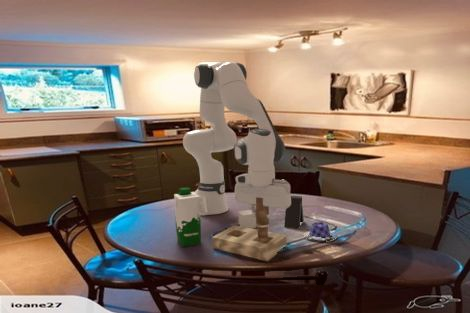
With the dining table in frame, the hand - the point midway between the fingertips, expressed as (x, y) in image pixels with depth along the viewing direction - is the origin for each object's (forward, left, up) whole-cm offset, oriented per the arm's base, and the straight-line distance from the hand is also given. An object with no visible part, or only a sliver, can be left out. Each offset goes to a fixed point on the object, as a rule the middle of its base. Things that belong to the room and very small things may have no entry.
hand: (262, 217), depth 121 cm
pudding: (+12, +21, -12) cm, 27 cm away
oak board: (-6, 0, -12) cm, 13 cm away
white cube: (-18, +18, -12) cm, 28 cm away
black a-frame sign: (-2, +29, -12) cm, 31 cm away
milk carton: (-28, -7, -12) cm, 31 cm away
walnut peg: (0, 0, -7) cm, 7 cm away
